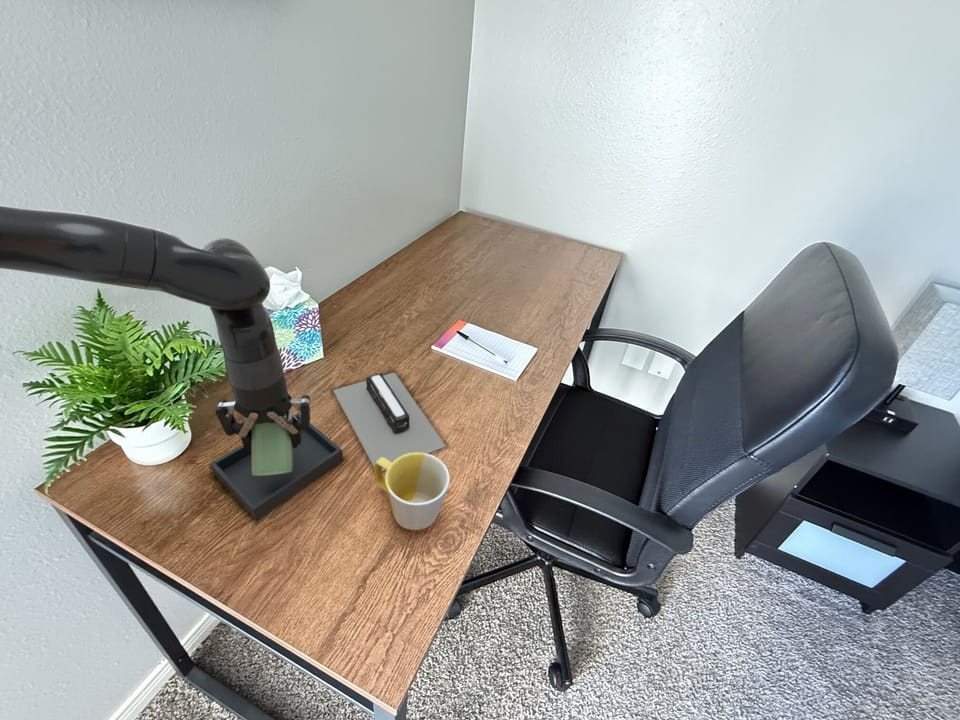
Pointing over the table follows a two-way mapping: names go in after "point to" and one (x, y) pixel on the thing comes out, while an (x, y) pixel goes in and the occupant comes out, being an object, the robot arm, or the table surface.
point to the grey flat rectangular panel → (387, 418)
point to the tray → (275, 489)
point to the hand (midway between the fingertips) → (274, 445)
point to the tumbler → (270, 450)
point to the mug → (414, 487)
